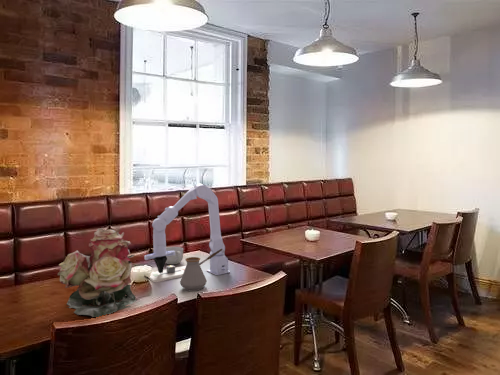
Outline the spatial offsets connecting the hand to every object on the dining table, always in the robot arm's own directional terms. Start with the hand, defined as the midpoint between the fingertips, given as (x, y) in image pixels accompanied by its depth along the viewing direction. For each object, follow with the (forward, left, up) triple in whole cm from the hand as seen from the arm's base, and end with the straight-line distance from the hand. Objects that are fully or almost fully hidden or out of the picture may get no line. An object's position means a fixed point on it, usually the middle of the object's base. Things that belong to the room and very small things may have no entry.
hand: (160, 272), depth 193 cm
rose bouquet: (-20, +32, -2) cm, 37 cm away
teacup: (+17, -15, -2) cm, 23 cm away
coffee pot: (-23, -10, -2) cm, 25 cm away
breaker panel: (0, -5, -2) cm, 6 cm away
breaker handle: (0, -5, -1) cm, 5 cm away
